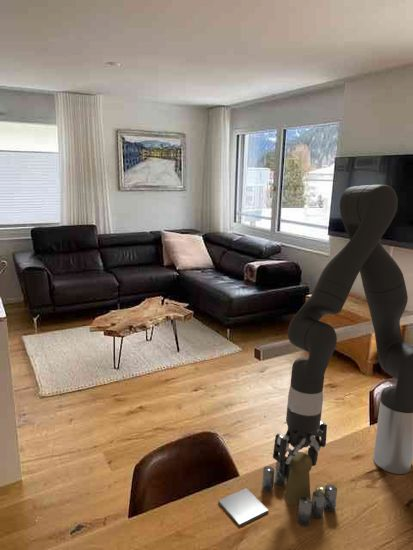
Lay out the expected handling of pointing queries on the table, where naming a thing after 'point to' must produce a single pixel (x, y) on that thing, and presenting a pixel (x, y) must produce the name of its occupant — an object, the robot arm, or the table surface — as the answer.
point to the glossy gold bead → (320, 488)
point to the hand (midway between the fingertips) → (298, 469)
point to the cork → (298, 479)
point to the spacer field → (305, 504)
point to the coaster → (243, 507)
